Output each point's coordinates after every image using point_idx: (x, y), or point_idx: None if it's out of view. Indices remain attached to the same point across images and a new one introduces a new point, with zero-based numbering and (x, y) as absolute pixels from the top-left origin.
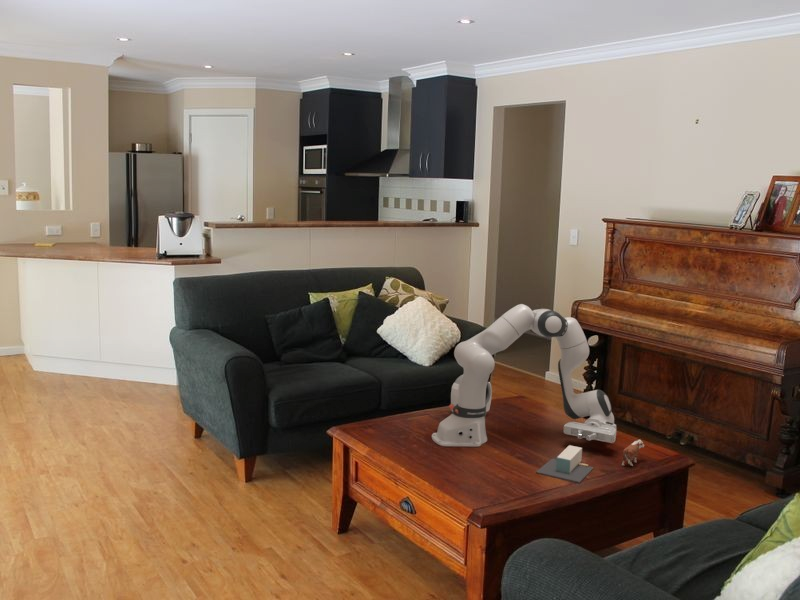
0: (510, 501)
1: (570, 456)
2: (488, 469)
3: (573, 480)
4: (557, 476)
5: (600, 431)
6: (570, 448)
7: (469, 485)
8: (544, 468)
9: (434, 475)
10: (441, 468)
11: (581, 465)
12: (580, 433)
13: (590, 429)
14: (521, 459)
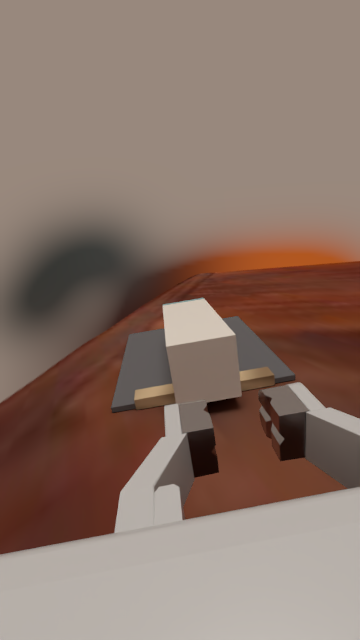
0: (195, 285)
1: (172, 310)
2: (314, 292)
3: (144, 332)
4: None
5: (9, 598)
6: (208, 326)
7: (268, 276)
8: (238, 329)
9: (329, 267)
10: (356, 271)
11: (160, 388)
12: (298, 403)
13: (278, 554)
14: (347, 333)
